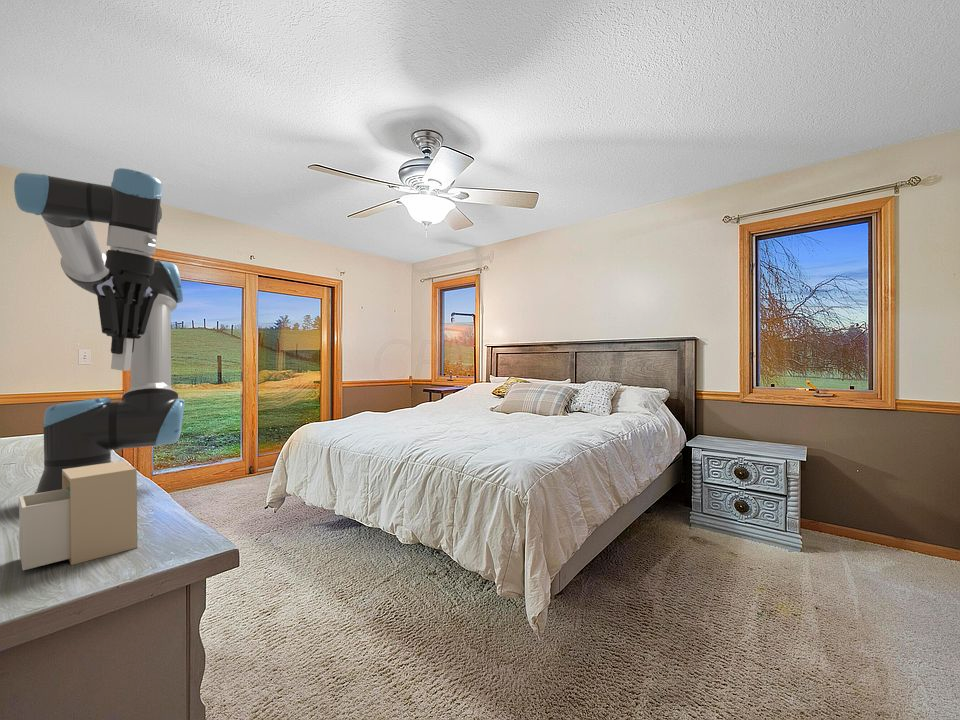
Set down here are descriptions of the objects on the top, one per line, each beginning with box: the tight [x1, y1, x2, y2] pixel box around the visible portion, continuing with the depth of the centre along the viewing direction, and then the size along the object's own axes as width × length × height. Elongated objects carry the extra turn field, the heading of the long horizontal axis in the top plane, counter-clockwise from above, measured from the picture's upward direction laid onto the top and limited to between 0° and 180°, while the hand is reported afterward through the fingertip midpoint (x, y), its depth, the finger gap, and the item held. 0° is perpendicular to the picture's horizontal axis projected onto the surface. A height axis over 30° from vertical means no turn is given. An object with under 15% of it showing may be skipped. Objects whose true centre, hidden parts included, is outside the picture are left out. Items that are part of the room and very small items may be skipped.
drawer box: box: [18, 488, 71, 571], centre depth 69 cm, size 10×9×9 cm
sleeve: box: [62, 460, 138, 566], centre depth 72 cm, size 8×11×13 cm
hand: (120, 369), depth 87 cm, fingers closed
